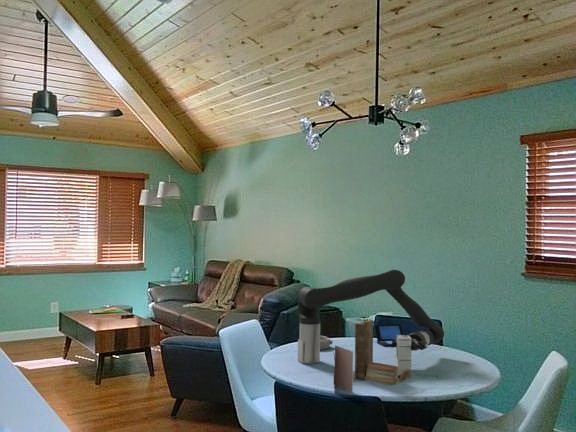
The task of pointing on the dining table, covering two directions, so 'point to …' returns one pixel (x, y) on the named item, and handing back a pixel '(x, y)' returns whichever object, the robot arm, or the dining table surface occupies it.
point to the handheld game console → (387, 333)
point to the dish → (325, 342)
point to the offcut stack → (382, 373)
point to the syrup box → (403, 352)
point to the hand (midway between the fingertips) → (402, 346)
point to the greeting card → (343, 368)
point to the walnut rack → (367, 351)
